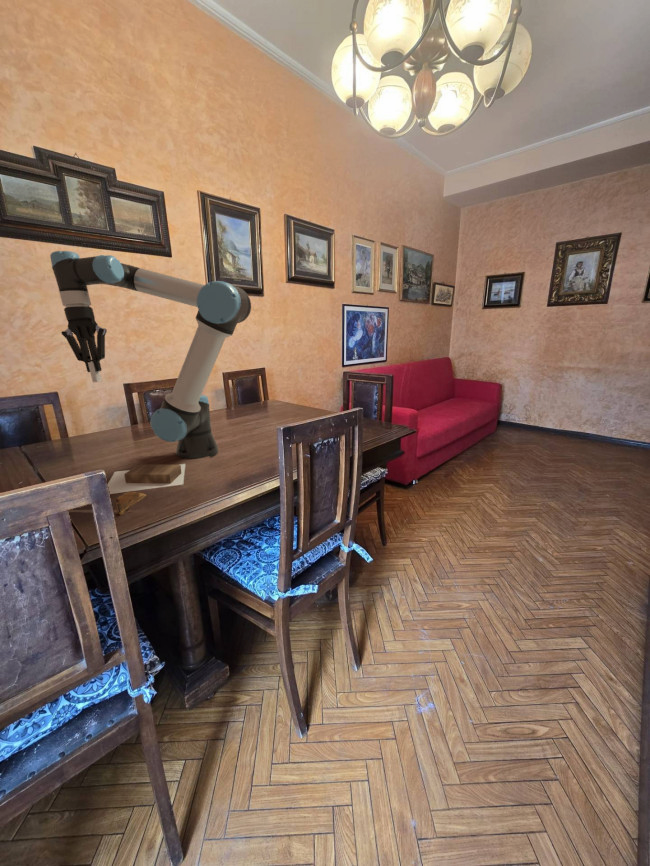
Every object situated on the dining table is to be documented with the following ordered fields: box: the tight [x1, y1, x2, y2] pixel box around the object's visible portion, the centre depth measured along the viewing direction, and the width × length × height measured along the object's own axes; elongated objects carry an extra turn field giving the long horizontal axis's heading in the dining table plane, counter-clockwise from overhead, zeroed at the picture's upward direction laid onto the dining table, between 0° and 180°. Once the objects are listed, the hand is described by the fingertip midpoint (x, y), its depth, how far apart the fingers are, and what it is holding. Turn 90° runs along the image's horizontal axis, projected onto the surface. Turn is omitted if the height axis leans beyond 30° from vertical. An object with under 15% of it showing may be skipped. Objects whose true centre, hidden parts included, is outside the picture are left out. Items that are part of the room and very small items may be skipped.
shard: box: [114, 491, 147, 516], centre depth 96 cm, size 11×8×2 cm
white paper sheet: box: [107, 463, 186, 495], centre depth 112 cm, size 22×18×1 cm
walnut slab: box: [124, 464, 181, 484], centre depth 111 cm, size 3×8×14 cm
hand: (97, 381), depth 116 cm, fingers closed
